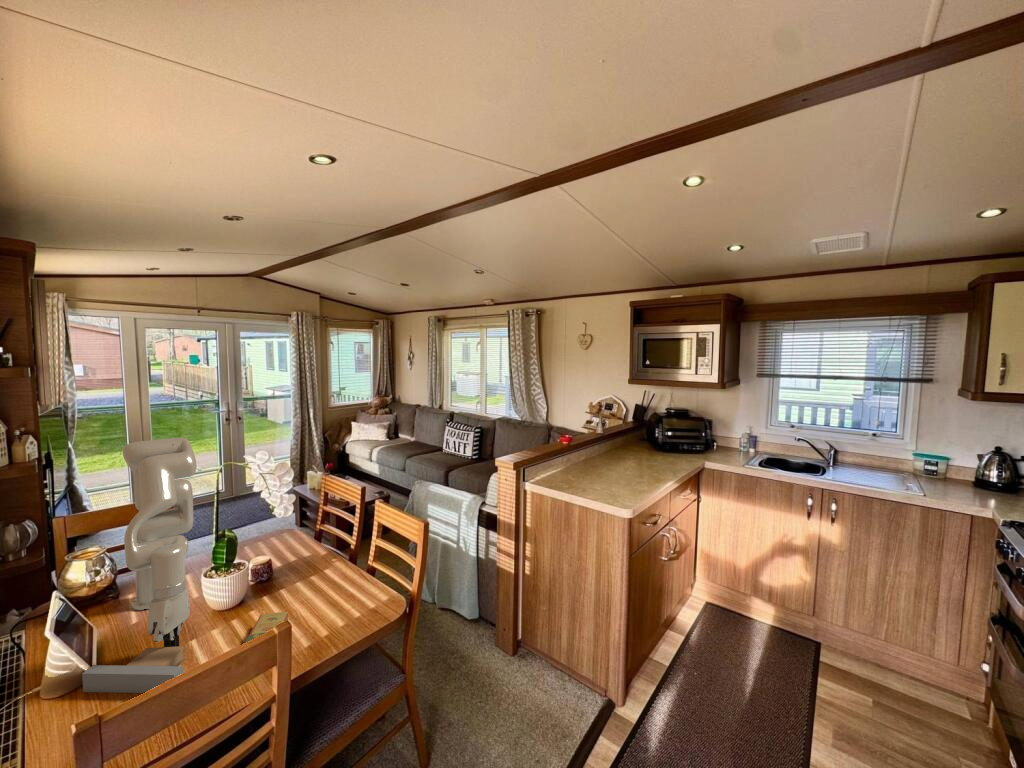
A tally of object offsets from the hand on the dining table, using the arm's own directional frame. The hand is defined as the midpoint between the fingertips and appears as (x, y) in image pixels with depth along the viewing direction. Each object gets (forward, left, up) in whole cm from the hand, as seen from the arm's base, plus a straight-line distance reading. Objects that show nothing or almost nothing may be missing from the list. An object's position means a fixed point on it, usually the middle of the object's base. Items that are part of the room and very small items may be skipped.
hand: (171, 650), depth 123 cm
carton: (-8, +23, -2) cm, 24 cm away
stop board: (+12, 0, -2) cm, 12 cm away
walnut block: (+6, 0, -2) cm, 6 cm away
